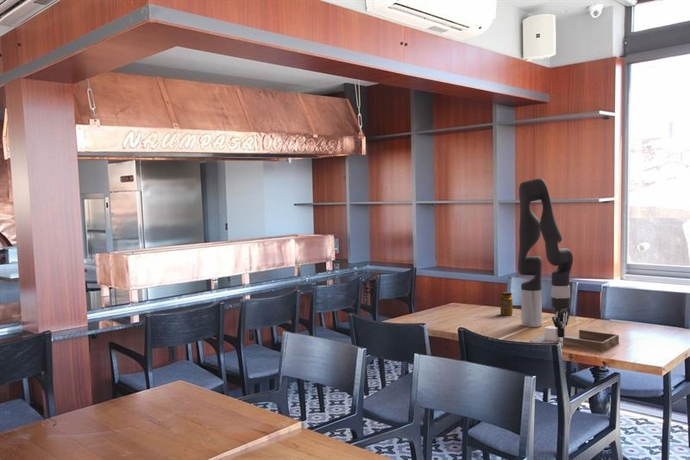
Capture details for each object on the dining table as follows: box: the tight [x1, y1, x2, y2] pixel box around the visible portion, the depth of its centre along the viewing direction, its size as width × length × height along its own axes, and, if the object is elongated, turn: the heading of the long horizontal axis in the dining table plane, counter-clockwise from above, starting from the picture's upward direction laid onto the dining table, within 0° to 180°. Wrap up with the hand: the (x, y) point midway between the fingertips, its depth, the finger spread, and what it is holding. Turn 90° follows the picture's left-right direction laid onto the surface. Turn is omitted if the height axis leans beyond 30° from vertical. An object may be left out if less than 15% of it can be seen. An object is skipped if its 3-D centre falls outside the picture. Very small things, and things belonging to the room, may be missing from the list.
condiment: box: [494, 291, 515, 318], centre depth 305 cm, size 7×8×12 cm
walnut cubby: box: [562, 329, 620, 353], centre depth 238 cm, size 18×16×4 cm
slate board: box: [529, 334, 619, 353], centre depth 243 cm, size 18×30×1 cm, turn 47°
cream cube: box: [543, 325, 561, 341], centre depth 248 cm, size 5×5×5 cm
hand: (561, 337), depth 246 cm, fingers closed
